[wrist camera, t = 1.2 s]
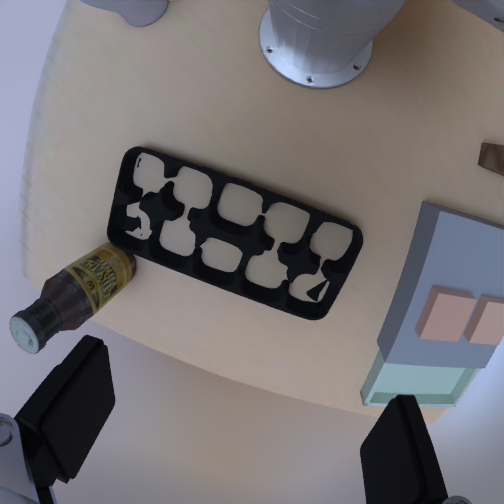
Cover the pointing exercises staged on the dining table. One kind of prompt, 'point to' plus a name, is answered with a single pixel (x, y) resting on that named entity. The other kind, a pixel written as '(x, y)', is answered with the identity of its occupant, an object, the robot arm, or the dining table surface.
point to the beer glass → (133, 9)
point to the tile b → (486, 321)
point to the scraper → (492, 157)
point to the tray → (415, 384)
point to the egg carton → (227, 238)
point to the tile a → (445, 314)
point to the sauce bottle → (73, 296)
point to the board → (443, 285)
